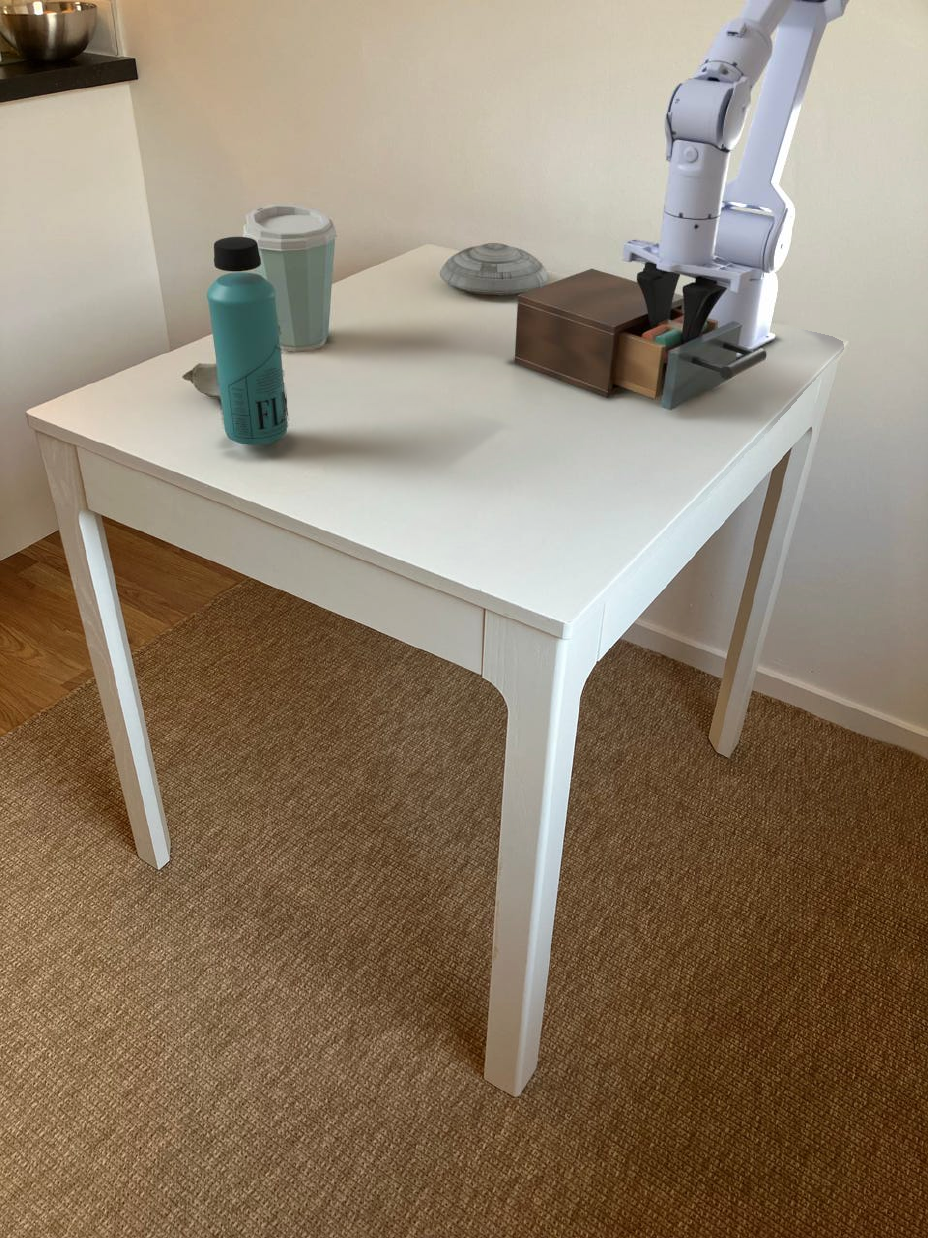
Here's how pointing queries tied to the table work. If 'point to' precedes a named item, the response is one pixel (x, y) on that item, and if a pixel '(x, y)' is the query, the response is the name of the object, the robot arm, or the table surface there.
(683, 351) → the drawer
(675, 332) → the teal and pink cylinders
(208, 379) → the seashell
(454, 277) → the flying saucer
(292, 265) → the disposable coffee cup
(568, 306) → the cabinet
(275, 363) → the beverage bottle
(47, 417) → the table surface
